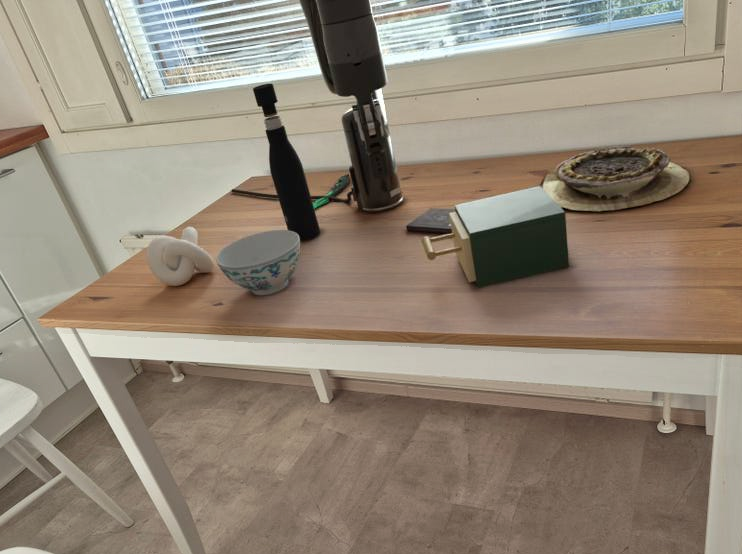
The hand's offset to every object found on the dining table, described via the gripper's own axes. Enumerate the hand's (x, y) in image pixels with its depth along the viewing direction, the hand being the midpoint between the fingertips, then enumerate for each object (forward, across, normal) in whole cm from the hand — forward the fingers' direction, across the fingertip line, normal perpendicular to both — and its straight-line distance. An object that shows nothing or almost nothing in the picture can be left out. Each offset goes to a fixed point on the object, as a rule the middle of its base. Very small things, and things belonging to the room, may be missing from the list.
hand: (381, 176), depth 102 cm
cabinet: (+18, 0, +18) cm, 26 cm away
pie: (+19, -23, +44) cm, 53 cm away
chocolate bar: (+19, -21, +13) cm, 31 cm away
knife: (+19, -59, -11) cm, 63 cm away
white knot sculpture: (+19, -27, -41) cm, 52 cm away
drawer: (+18, 0, +14) cm, 22 cm away
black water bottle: (+19, -34, -17) cm, 43 cm away
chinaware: (+19, -12, -24) cm, 32 cm away
